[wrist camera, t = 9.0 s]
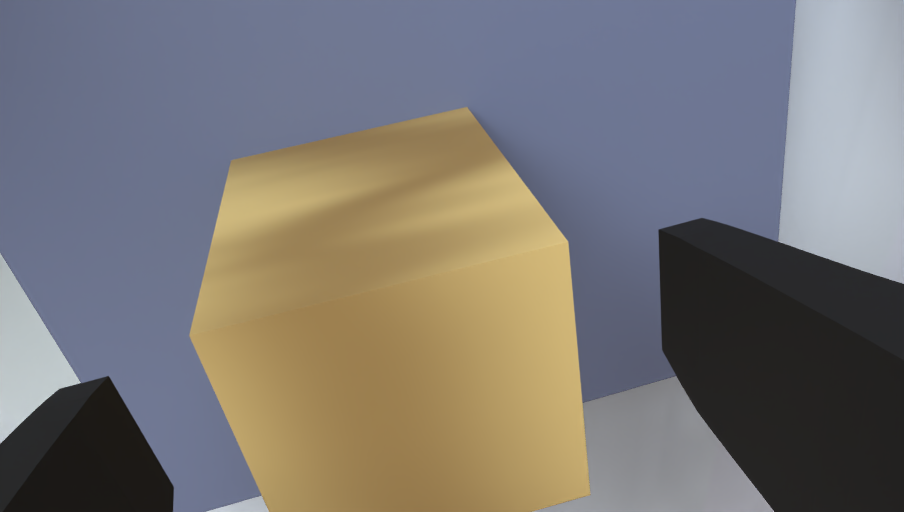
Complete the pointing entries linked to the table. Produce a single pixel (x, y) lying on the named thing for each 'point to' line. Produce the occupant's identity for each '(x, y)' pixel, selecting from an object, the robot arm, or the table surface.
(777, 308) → the robot arm
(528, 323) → the mustard block
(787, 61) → the slate blue book
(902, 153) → the table surface
